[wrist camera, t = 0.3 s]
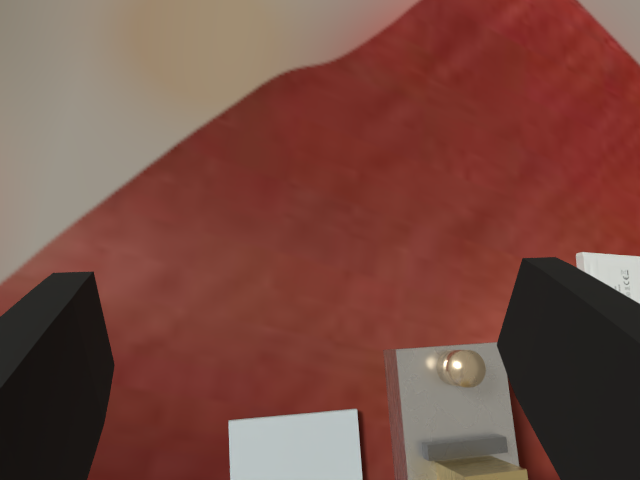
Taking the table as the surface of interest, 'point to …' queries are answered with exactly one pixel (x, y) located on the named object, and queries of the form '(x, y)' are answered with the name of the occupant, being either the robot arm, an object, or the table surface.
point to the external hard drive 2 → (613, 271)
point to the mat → (296, 447)
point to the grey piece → (447, 407)
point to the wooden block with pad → (479, 469)
